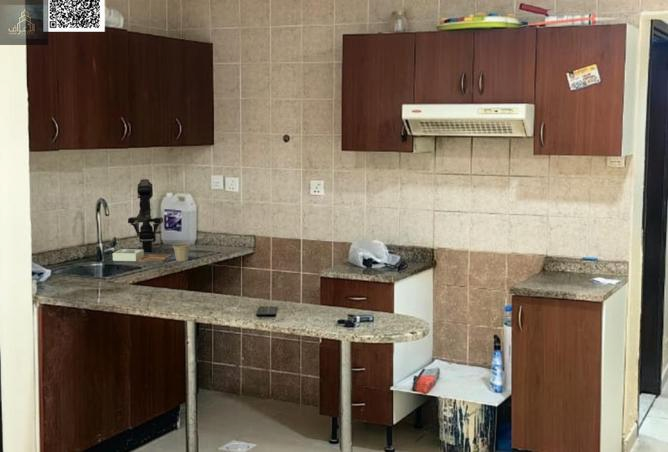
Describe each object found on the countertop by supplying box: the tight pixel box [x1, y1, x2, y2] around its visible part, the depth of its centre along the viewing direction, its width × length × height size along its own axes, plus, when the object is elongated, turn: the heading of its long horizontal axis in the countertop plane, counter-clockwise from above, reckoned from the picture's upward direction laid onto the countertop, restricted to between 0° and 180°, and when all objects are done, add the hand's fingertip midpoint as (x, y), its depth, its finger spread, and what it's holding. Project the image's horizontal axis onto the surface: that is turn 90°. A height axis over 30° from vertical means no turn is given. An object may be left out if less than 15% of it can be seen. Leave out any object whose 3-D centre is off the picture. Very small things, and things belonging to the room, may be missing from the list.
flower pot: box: [172, 243, 191, 262], centre depth 534 cm, size 9×9×9 cm
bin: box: [112, 248, 145, 262], centre depth 540 cm, size 13×13×5 cm
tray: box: [136, 253, 173, 263], centre depth 539 cm, size 17×14×2 cm
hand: (146, 235), depth 546 cm, fingers open, 9 cm apart
